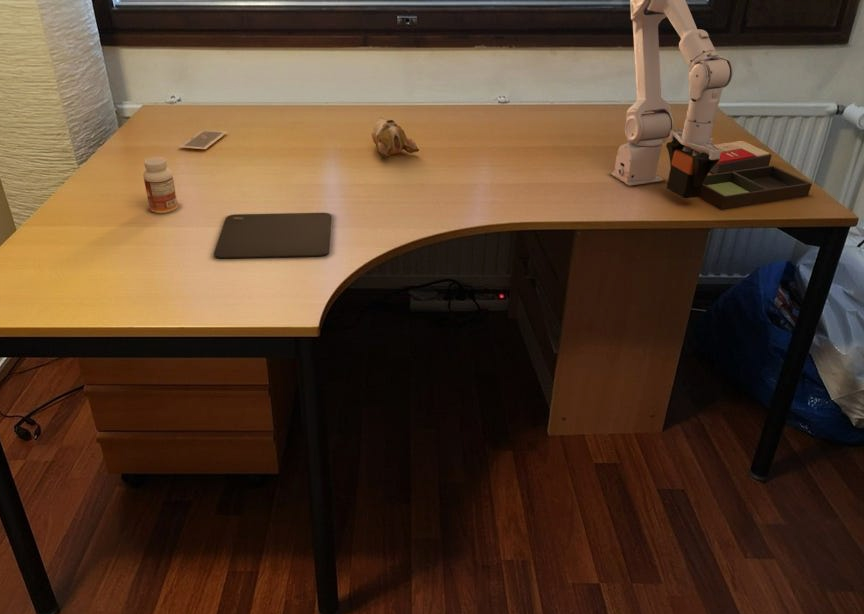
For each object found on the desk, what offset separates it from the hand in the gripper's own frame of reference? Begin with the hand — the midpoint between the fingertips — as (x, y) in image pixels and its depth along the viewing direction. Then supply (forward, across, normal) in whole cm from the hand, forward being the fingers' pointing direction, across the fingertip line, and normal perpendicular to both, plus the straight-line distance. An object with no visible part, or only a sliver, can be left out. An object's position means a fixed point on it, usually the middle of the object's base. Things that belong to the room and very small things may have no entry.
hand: (685, 180), depth 164 cm
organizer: (+5, 0, -18) cm, 19 cm away
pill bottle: (+6, +35, +111) cm, 116 cm away
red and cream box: (+6, +16, -26) cm, 31 cm away
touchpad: (+6, +77, +97) cm, 124 cm away
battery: (+3, 0, 0) cm, 3 cm away
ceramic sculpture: (+6, +53, +51) cm, 74 cm away
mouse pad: (+5, +13, +90) cm, 91 cm away
